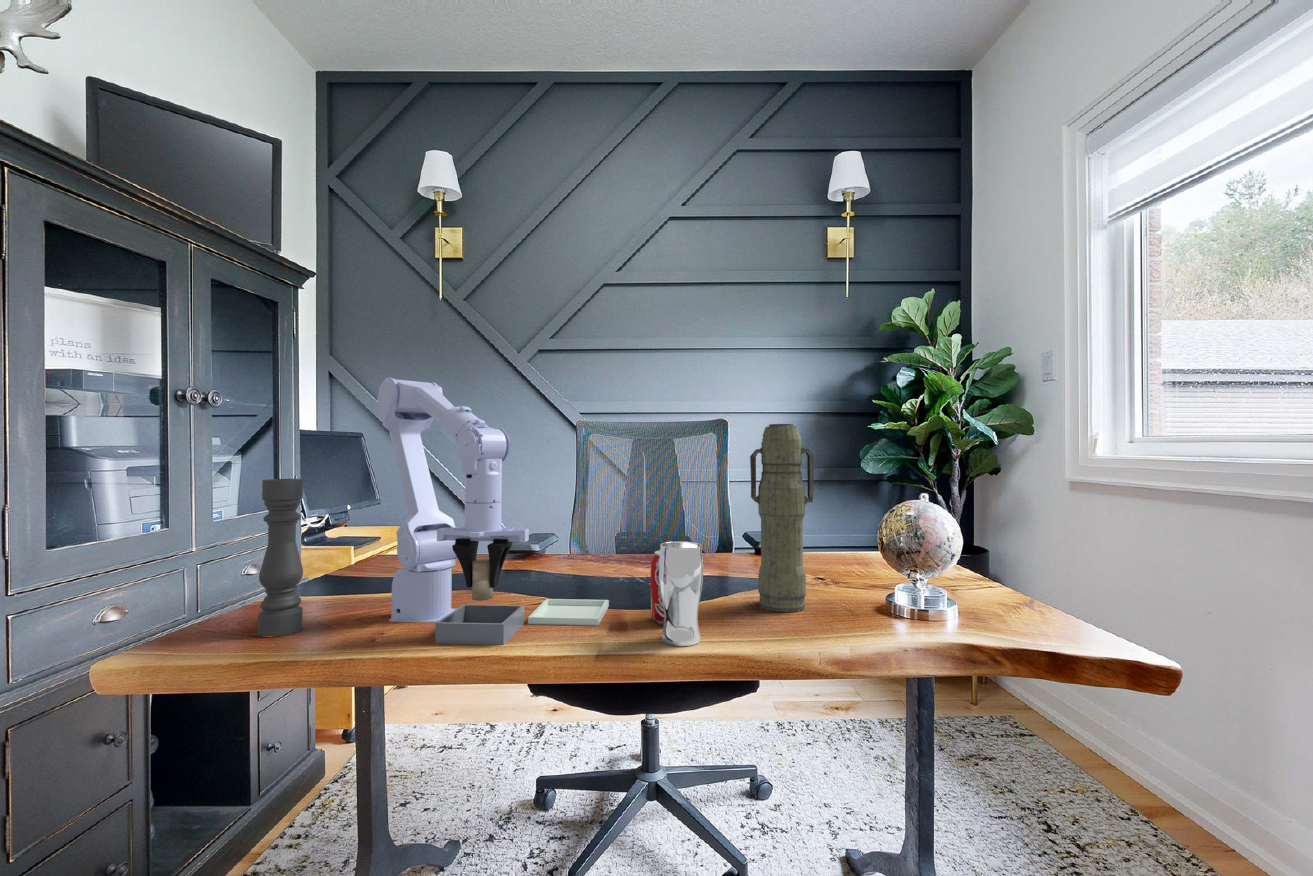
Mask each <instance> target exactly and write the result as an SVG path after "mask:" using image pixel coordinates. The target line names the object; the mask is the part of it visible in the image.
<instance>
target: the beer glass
mask: <svg viewBox="0 0 1313 876" xmlns="http://www.w3.org/2000/svg"><path fill="white" fill-rule="evenodd" d="M702 547H703V545H702V544H701V543H699V542H696V541H685V540H684V541H666V542H663V543H660V547H659V548H660V549H659V550H660V559H659V582H660V590H661V596H662V602H663V608H664V625H663V628H662V633H661V641H662V642H663V643H664V644H666V645H669V646H672V647H691V646H695V645H697V644H699V643H700V642H701V634H700V629H699V620H698V618H699V616H698V615H699V606H700V602H701V595H702V589H703V583H704V582H703V581H704V564H703V563H704V561H703V551H702V550H703V549H702Z"/></svg>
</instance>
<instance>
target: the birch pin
mask: <svg viewBox="0 0 1313 876" xmlns="http://www.w3.org/2000/svg"><path fill="white" fill-rule="evenodd" d="M489 577H490V562H489V558H480V559H479V558H478V559H476V560H474V561H472V587H471V599H472V600H473V601H477V602H481V601H482V602H483V601H489V600H491V599H493V597H494V588H490V584H489Z"/></svg>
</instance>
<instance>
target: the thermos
mask: <svg viewBox="0 0 1313 876" xmlns="http://www.w3.org/2000/svg"><path fill="white" fill-rule="evenodd" d="M760 444H761V445H760V448H758V449H755V450H754V451H753V452H752V453H751V455H750V456H749V459H750V460H749V463H750V464H749V465H750V498H751V499H752V500H753V501H754V502H755V503H756V504H758V505H757V506H758V508H757V509H758V510H757V511H758V515H759V518H760V567H759V570H758V576H757V577H758V578H757V580H758V583H757V585H758V586H757V587H758V594H759V601H758V602H759V607H760V608H762V609H764V610H766V609H767V610H766V611H771V612H777V613H796V612H795V611H798V612H800V611H799V610H802V609H804V608H805V609H806V602H805V601H806V599H805V596H806V595H807V589H806V588H807V577H806V572H805V570H804V559H803V558H804V554H803V553H804V551H803V550H804V542H803V541H804V536H803V535H804V534H803V532H804V527H803V526H804V525H803V524H804V523H803V522H804V521H803V520H804V517H805V515H806V505H808V504H807V503H813V500H814V454H813V453H812V452H811V451H810V449H809V448H805V447H802V437H801V435H800V431H799V428H798V426H796V425H795V426H794V424H793V423H772V424H768V426H765V428H764V430H763V433H762V439H761V442H760ZM758 454H761V459H760V460H761V465H762V471H761V478H760V481H759V484H758V491H757V467H756V466H757V456H758ZM803 454H804V455H805V454H806V456H807V459H806V460H807V467H806V468H807V496H806V487H805V484H804V481H803V476H802V472H801V469H802V468H801V467H802V466H801V465H802V463H803V462H802V455H803ZM757 492H758V495H757ZM805 609H804V610H805ZM802 611H803V610H802Z"/></svg>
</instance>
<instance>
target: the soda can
mask: <svg viewBox="0 0 1313 876" xmlns="http://www.w3.org/2000/svg"><path fill="white" fill-rule="evenodd" d="M659 559H660V549H659V550H656V551H654V556H653V558H652V560H651V562H650V613H651V618H652V619H653V620H654V621H656V622H657V623H658V624H659V625H663V626H664V608H663V602H662V596H661V590H660V582H659Z"/></svg>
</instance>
